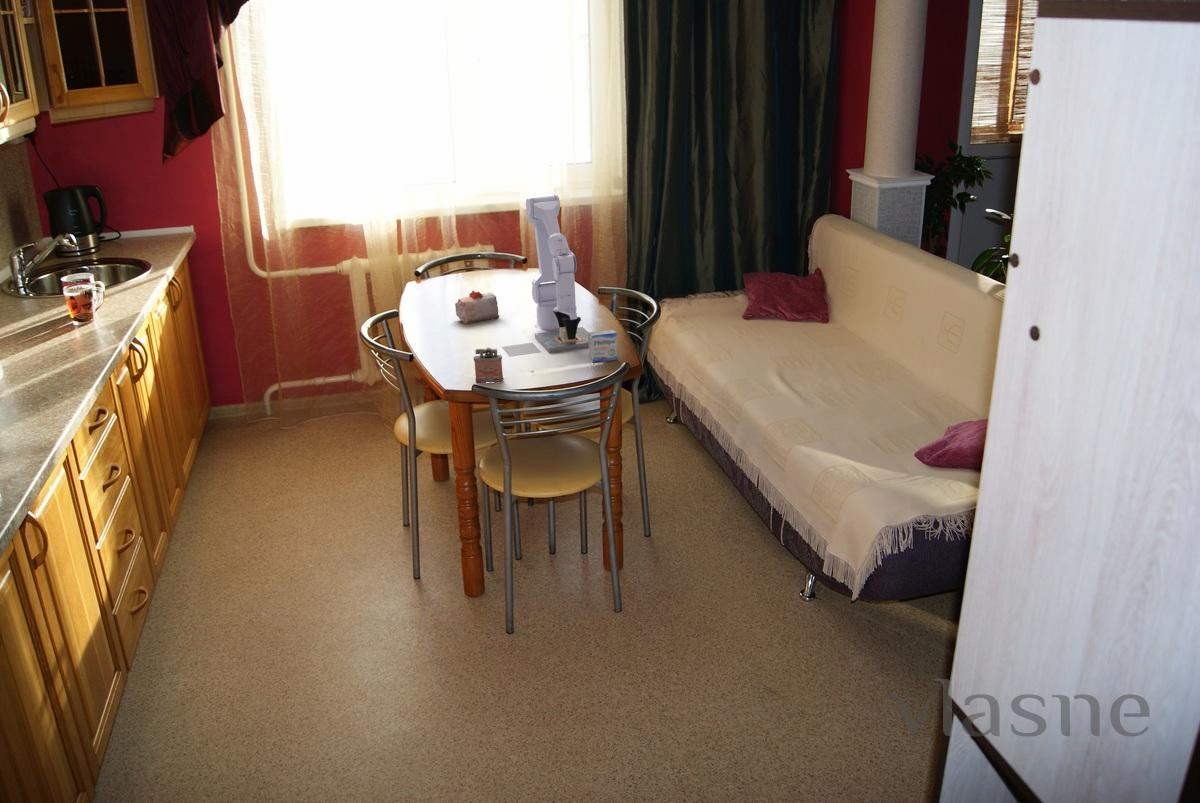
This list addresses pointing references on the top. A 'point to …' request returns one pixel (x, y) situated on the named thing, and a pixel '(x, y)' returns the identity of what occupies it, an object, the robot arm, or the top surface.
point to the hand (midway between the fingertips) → (567, 335)
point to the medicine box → (603, 345)
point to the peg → (564, 335)
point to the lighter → (488, 366)
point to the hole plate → (555, 345)
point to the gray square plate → (521, 349)
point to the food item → (477, 307)
